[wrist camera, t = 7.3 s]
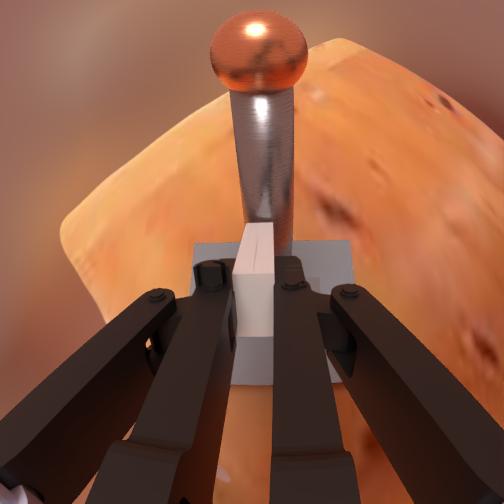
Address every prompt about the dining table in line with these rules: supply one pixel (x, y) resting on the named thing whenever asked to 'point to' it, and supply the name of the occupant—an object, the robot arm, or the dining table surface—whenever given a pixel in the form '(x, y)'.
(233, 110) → the lever
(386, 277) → the dining table surface
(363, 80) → the dining table surface
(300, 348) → the robot arm
